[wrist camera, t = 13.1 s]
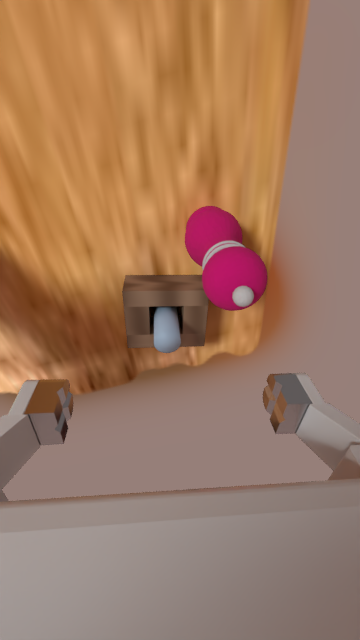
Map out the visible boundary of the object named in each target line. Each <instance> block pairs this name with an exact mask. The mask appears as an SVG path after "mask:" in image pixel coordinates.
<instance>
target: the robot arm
mask: <svg viewBox="0 0 360 640" xmlns="http://www.w3.org/2000/svg"><path fill="white" fill-rule="evenodd" d="M267 382H268V386H266V387H265V388H264V391H263V403H264V406H265V409H266V411H267V412H269V413H270V414H271V418H270V421H271V424H272V426H273V428H274V431H275V433H276V434H283V433H286V434H287V433H296V435H297V436H298V437H299V438H300V439H301V440H302V441H303V442H304V443H305V444H306V445H307V446H308V447H309V448H310V449H311V450H312V451H313V452H314V453H315V454H316V455H317V456H318V457H320V458H321V459H322V460H323V461H324V462H325V463H326V464H327V465H328V466H329V467H330V468H331V469H332V470H333V473H332V474H331V476H330V477H329V479H328V480H327V481H311V482H296V483H282V484H267V485H266V484H265V485H251V486H235V487H219V488H204V489H188V490H174V491H159V492H145V493H144V492H143V493H130V494H129V493H128V494H113V495H99V496H81V497H66V498H51V499H35V500H20V501H8V499H7V497H6V496H5V494H4V493H3V491H2V489H3V487H4V486H5V485H6V484H7V483H8V482H9V481H10V480H11V479H12V478H13V476H14V475H15V474H16V473H17V472H18V471H19V470H20V469H21V467H22V466H23V465H24V464H25V463H26V462H27V461H28V460H29V459H30V458H31V456H32V455H33V454H34V453H35V452H36V451H37V450H38V449H39V448H40V445H52V444H64V441H65V437H66V434H67V430H68V426H67V421H68V420H69V419H70V418H71V415H72V412H73V396H72V394H71V393H70V392H69V388H70V384H69V381H68V380H26V381H25V382H24V383H23V385H22V387H21V389H20V391H19V393H18V395H17V397H16V400H15V401H14V403H13V405H12V407H11V409H10V411H9V413H8V415H3V416H2V417H0V640H360V423H358V422H357V421H355V420H354V419H352V418H351V417H349V416H348V415H346V414H345V413H343V412H342V411H340V410H339V409H337V408H336V407H334V406H333V405H331V404H330V403H327V404H326V403H325V401H324V400H323V398H322V396H321V395H320V393H319V392H318V390H317V389H316V387H315V386H314V384H313V382H312V381H311V379H310V378H309V376H308V375H307V374H306V373H293V374H291V373H289V374H270V375H269V376H268V378H267Z"/></svg>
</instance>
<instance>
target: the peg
mask: <svg viewBox="0 0 360 640" xmlns="http://www.w3.org/2000/svg"><path fill="white" fill-rule="evenodd" d="M180 344H181V339H180V331H179V322H178V314H177V306H154V346H155V348H156V349H157V350H158V351H160V352H163V353H170V352H174V351H175V350H177V349H178V348H179V346H180Z"/></svg>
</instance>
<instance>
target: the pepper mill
mask: <svg viewBox="0 0 360 640" xmlns="http://www.w3.org/2000/svg"><path fill="white" fill-rule="evenodd" d="M185 245H186V248H187V251H188V253H189V255H190V257H191V258H192V259H193V260H194V261H195V262H196V263H197V264H199V265H200V266H202V268H203V274H202V284H203V289H204V291H205V294H206V296H207V297H208V298H209V300H210V301H211V302H212V303H213V304H215V305H216V306H218V307H220V308H222V309H225V310H230V311H233V310H242V309H245V308H247V307H249V306H251V305H253V304H254V303H256V302H257V301H258V300H259V298H260V297H261V296H262V294H263V293H264V291H265V289H266V284H267V270H266V267H265V264H264V263H263V261H262V259H261V258H260V256H259V255H257V254H256V253H255V252H254V251H252V250H250V249H249V248H246V247H245V246H244V245H242V231H241V227H240V225H239V223H238V221H237V220H236V219H235V217H234V216H233V215H231V214H230V213H228V212H226V211H224V210H222V209H220V208H218V207H215V206H206V207H202V208H200V209H198V210H197V211H195V212H194V213H193V214H192V215H191V217H190V218H189V220H188V222H187V226H186V234H185Z"/></svg>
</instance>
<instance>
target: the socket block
mask: <svg viewBox="0 0 360 640" xmlns="http://www.w3.org/2000/svg"><path fill="white" fill-rule="evenodd" d="M122 292H123V303H124V313H125V323H126V334H127V344H128V348H147V347H155V346H154V317H150V307H153V306H181V311H180V316H178V322H179V331H180V339H181V344H180V346H179V347H187V346H204V342H205V332H206V322H207V311H208V301H209V298H208V297H207V296H206V294H205V291H204V289H203V284H202V275H126V276H125V281H124V286H123V291H122Z"/></svg>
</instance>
